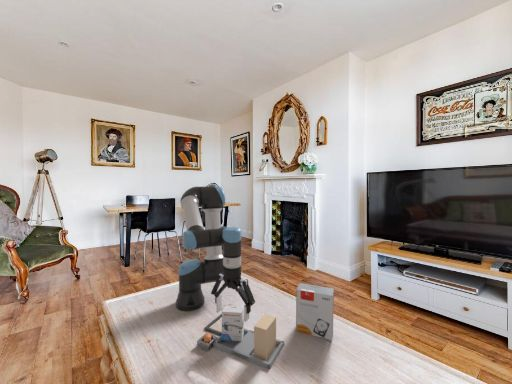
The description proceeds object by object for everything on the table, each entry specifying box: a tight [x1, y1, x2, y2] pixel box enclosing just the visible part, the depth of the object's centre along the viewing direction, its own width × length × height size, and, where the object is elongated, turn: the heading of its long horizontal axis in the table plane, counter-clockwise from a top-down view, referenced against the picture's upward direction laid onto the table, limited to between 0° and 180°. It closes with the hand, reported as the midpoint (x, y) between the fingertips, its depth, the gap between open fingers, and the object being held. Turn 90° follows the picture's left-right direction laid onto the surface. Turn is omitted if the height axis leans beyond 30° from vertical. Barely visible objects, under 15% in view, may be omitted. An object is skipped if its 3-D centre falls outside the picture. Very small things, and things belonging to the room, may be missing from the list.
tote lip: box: [203, 313, 222, 336], centre depth 113 cm, size 12×16×1 cm
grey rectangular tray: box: [212, 327, 285, 370], centre depth 96 cm, size 25×14×2 cm, turn 62°
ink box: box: [221, 305, 245, 341], centre depth 99 cm, size 9×5×12 cm, turn 84°
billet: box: [253, 313, 277, 361], centre depth 92 cm, size 5×9×12 cm, turn 152°
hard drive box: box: [295, 282, 335, 342], centre depth 105 cm, size 16×8×20 cm, turn 68°
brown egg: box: [203, 333, 212, 343], centre depth 98 cm, size 3×3×4 cm
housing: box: [196, 332, 219, 352], centre depth 98 cm, size 6×6×2 cm
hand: (232, 315), depth 100 cm, fingers open, 13 cm apart
